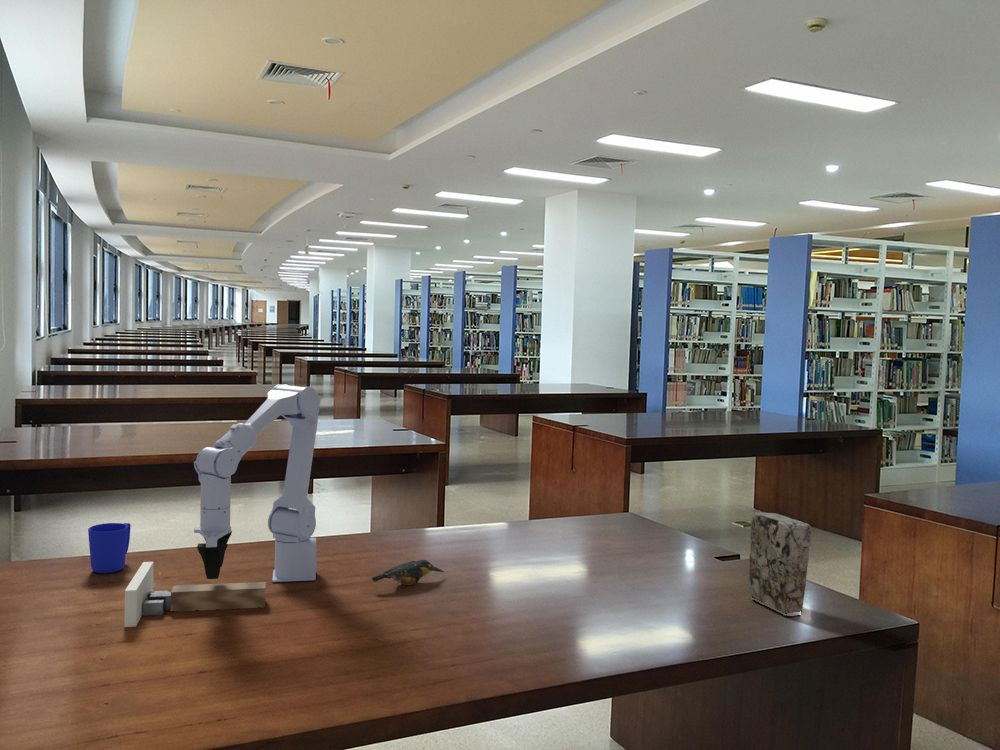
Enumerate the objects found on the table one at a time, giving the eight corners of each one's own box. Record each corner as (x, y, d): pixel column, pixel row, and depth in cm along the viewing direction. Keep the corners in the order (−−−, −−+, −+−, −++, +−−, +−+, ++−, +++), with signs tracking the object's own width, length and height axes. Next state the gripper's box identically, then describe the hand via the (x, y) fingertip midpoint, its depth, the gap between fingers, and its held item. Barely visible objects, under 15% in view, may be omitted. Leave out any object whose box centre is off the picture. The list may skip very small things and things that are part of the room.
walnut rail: (265, 600, 164) (265, 581, 164) (264, 607, 160) (265, 588, 160) (152, 605, 158) (152, 586, 158) (148, 613, 155) (149, 593, 154)
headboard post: (172, 593, 166) (172, 561, 165) (157, 625, 148) (158, 589, 148) (142, 594, 164) (143, 562, 164) (124, 627, 147) (124, 590, 147)
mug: (144, 561, 187) (144, 520, 186) (114, 577, 175) (114, 533, 174) (111, 559, 188) (112, 517, 187) (79, 574, 176) (80, 530, 175)
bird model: (377, 595, 169) (378, 573, 169) (365, 589, 173) (366, 567, 172) (449, 579, 182) (450, 558, 182) (437, 574, 186) (437, 553, 185)
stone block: (809, 615, 167) (815, 523, 166) (785, 619, 164) (791, 526, 163) (763, 595, 179) (769, 509, 178) (740, 599, 176) (745, 511, 175)
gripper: (198, 498, 164) (198, 562, 165) (189, 515, 150) (188, 585, 151) (234, 498, 166) (233, 561, 167) (228, 514, 152) (227, 583, 153)
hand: (214, 572), depth 159 cm, fingers open, 7 cm apart
